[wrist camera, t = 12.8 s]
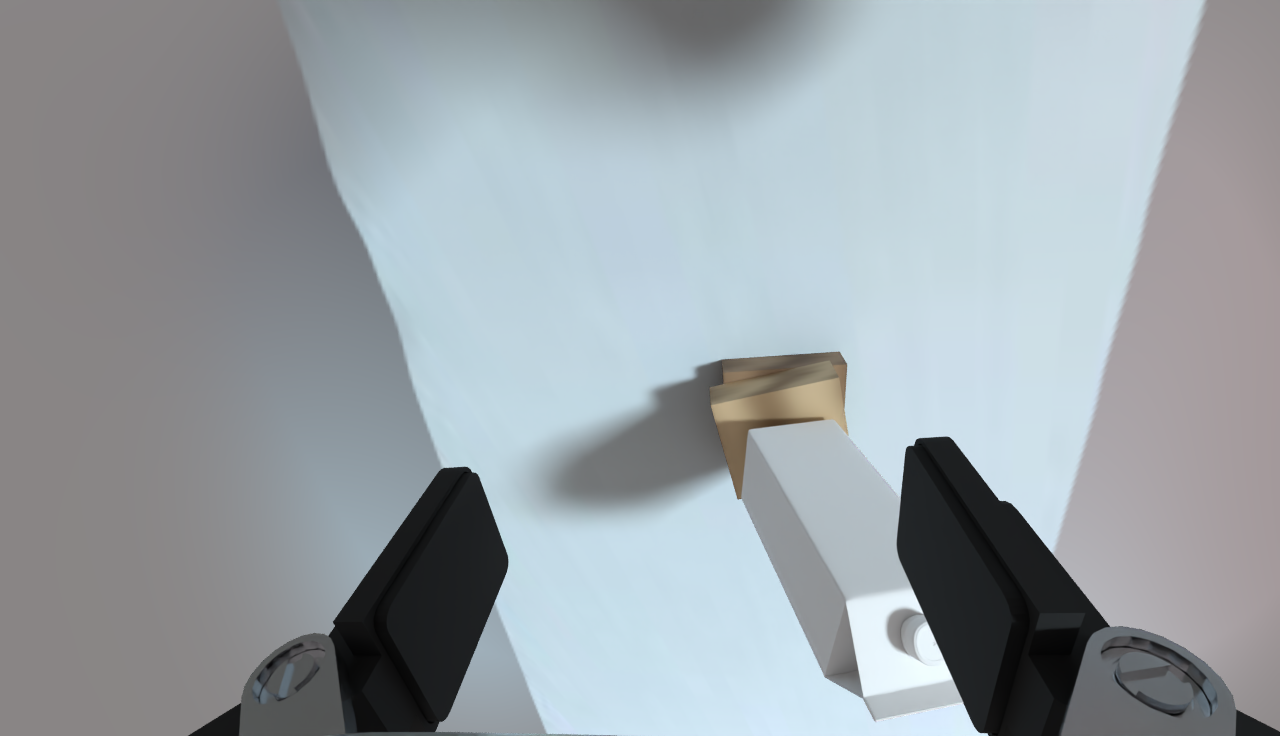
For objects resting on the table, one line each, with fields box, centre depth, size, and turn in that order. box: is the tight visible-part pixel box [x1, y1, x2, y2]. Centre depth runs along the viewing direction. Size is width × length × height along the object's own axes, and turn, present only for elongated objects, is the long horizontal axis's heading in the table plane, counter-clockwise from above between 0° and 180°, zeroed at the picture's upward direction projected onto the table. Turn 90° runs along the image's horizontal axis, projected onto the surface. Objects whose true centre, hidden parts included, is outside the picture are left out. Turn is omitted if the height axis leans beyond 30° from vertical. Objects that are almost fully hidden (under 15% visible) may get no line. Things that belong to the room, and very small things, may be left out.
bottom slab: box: [722, 352, 847, 406], centre depth 46 cm, size 10×10×3 cm
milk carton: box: [741, 419, 964, 722], centre depth 33 cm, size 7×7×19 cm
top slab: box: [709, 360, 848, 499], centre depth 43 cm, size 10×10×3 cm
